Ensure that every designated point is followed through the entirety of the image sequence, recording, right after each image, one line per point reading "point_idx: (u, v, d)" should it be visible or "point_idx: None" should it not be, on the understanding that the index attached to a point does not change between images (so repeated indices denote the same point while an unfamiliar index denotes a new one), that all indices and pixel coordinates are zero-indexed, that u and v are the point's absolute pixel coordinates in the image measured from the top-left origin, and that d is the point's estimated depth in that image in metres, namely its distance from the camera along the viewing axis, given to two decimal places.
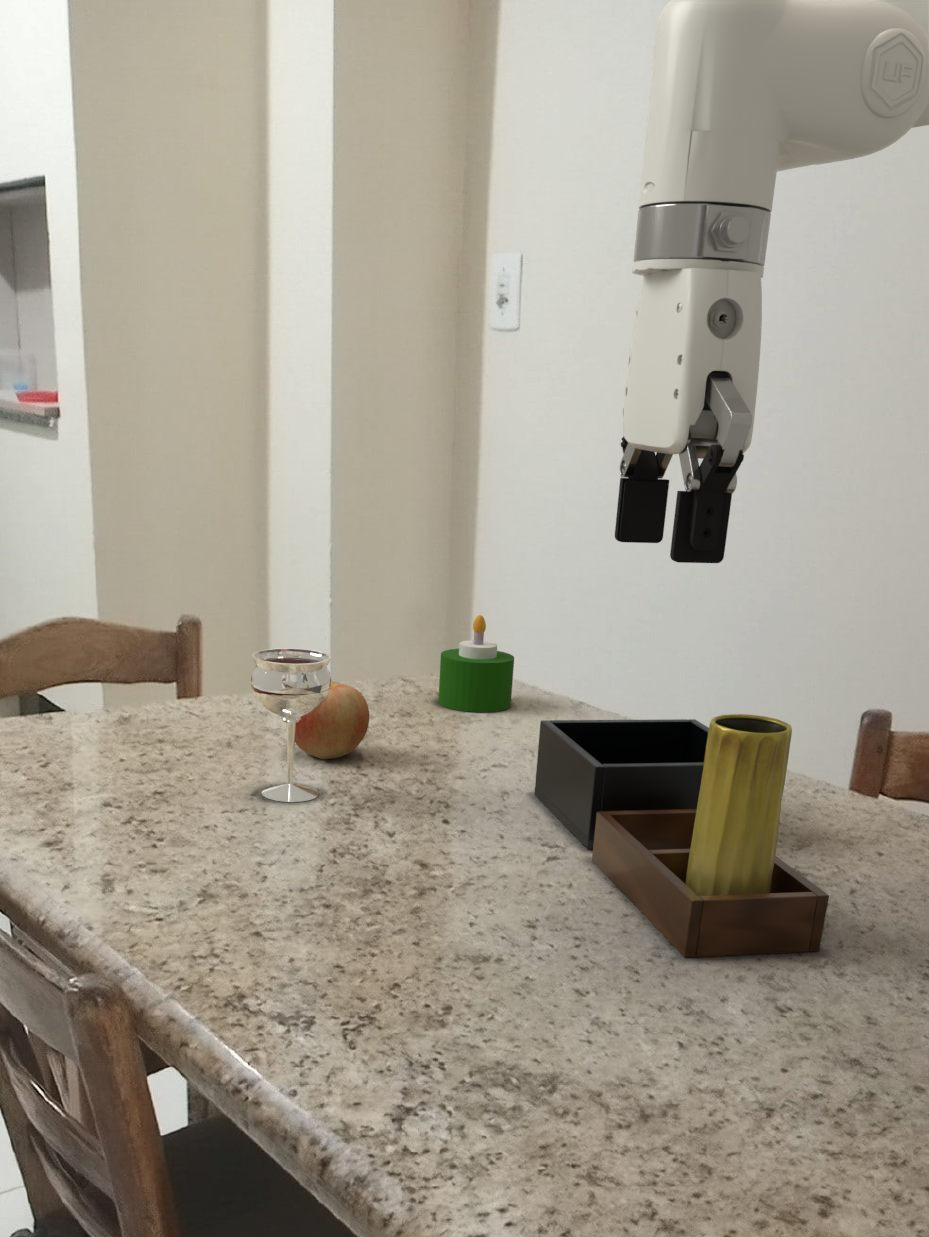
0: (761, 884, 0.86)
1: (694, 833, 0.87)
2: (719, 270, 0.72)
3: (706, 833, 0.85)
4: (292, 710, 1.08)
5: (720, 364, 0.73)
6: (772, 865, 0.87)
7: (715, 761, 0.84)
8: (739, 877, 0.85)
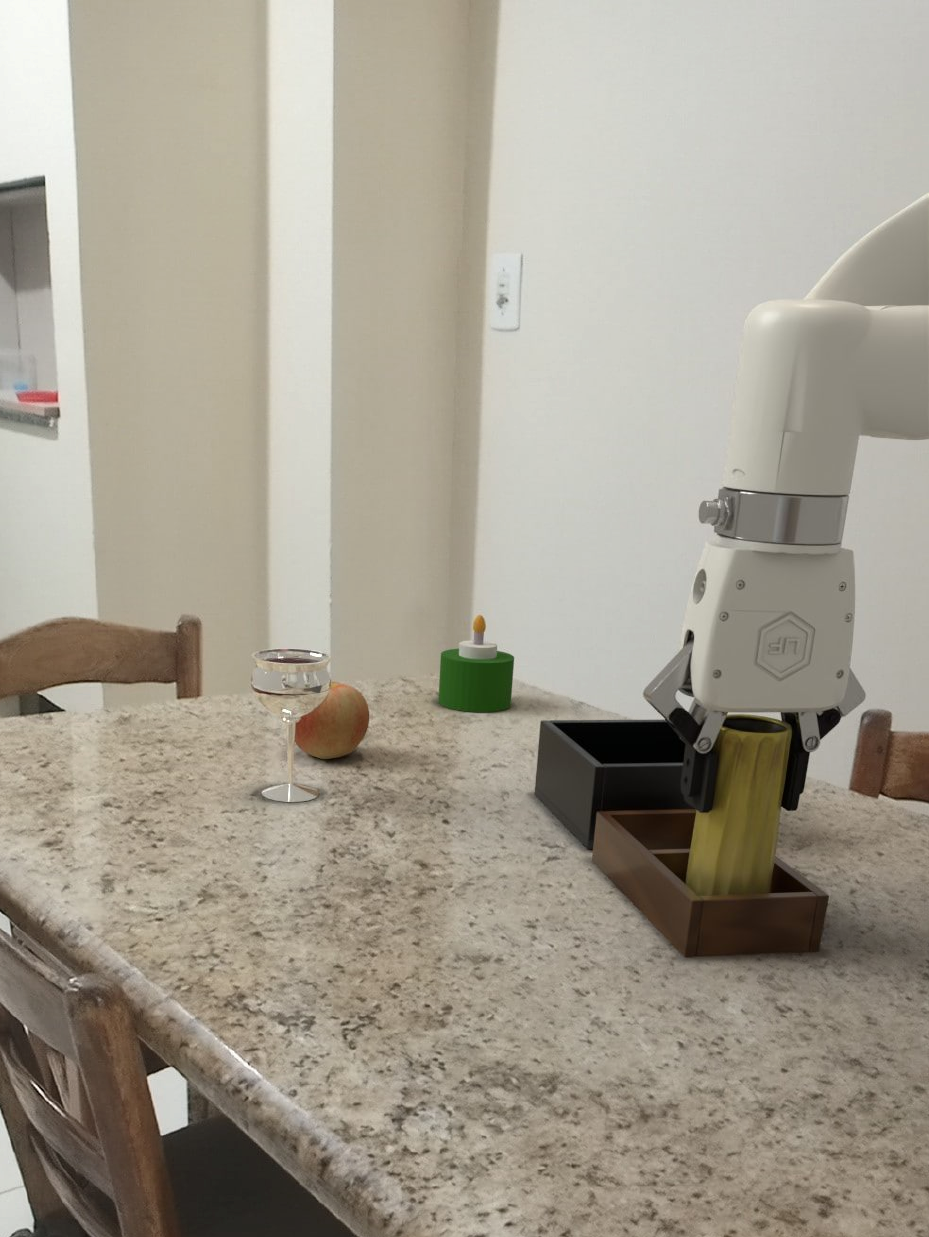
0: (761, 884, 0.86)
1: (694, 833, 0.87)
2: (708, 544, 0.79)
3: (706, 833, 0.85)
4: (293, 710, 1.08)
5: (691, 624, 0.81)
6: (772, 865, 0.87)
7: None
8: (739, 877, 0.85)
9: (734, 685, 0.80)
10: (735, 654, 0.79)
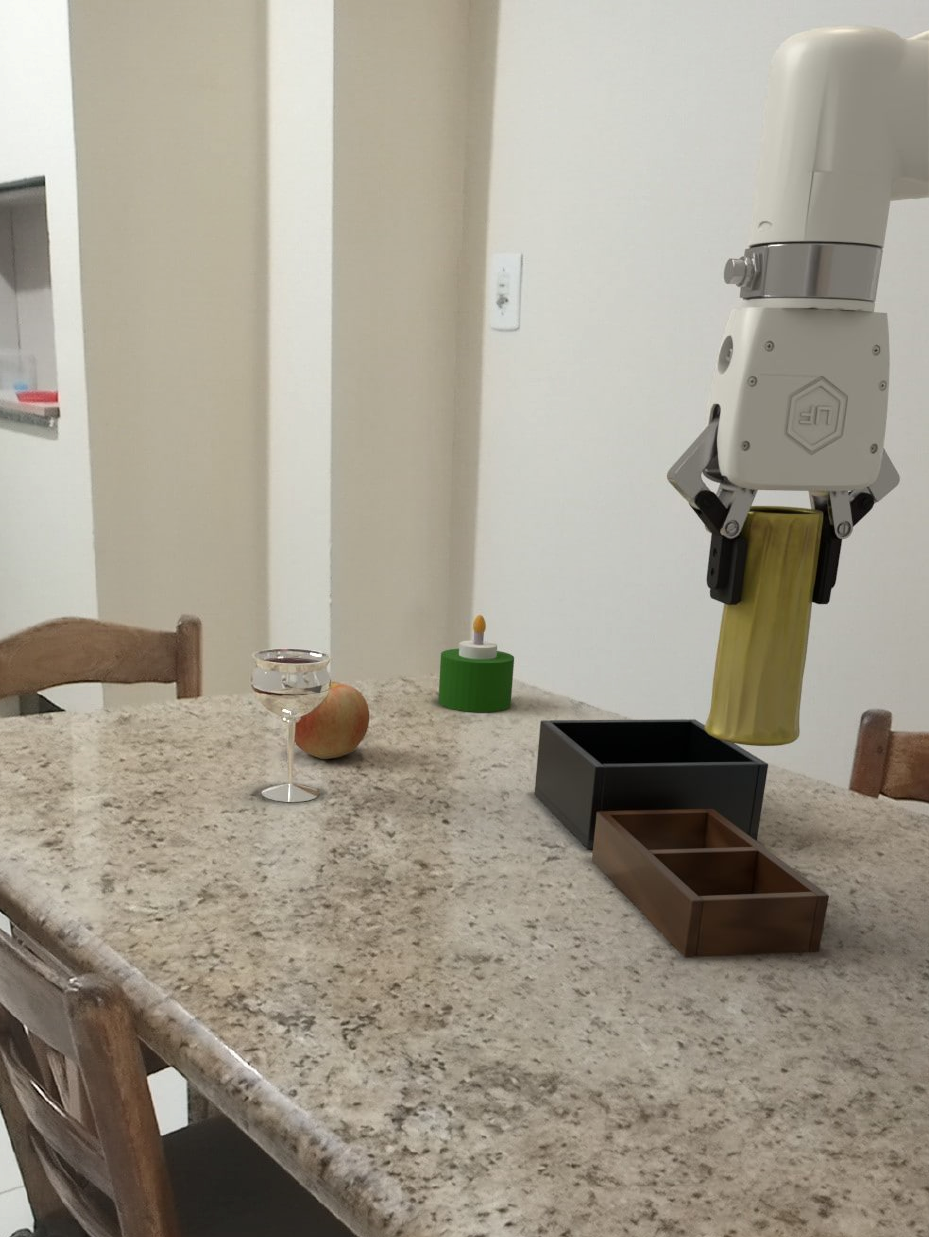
0: (792, 683, 0.82)
1: (721, 634, 0.84)
2: (734, 309, 0.75)
3: (734, 629, 0.82)
4: (293, 710, 1.08)
5: (717, 398, 0.77)
6: (803, 664, 0.83)
7: None
8: (770, 674, 0.81)
9: (763, 458, 0.76)
10: (764, 424, 0.75)
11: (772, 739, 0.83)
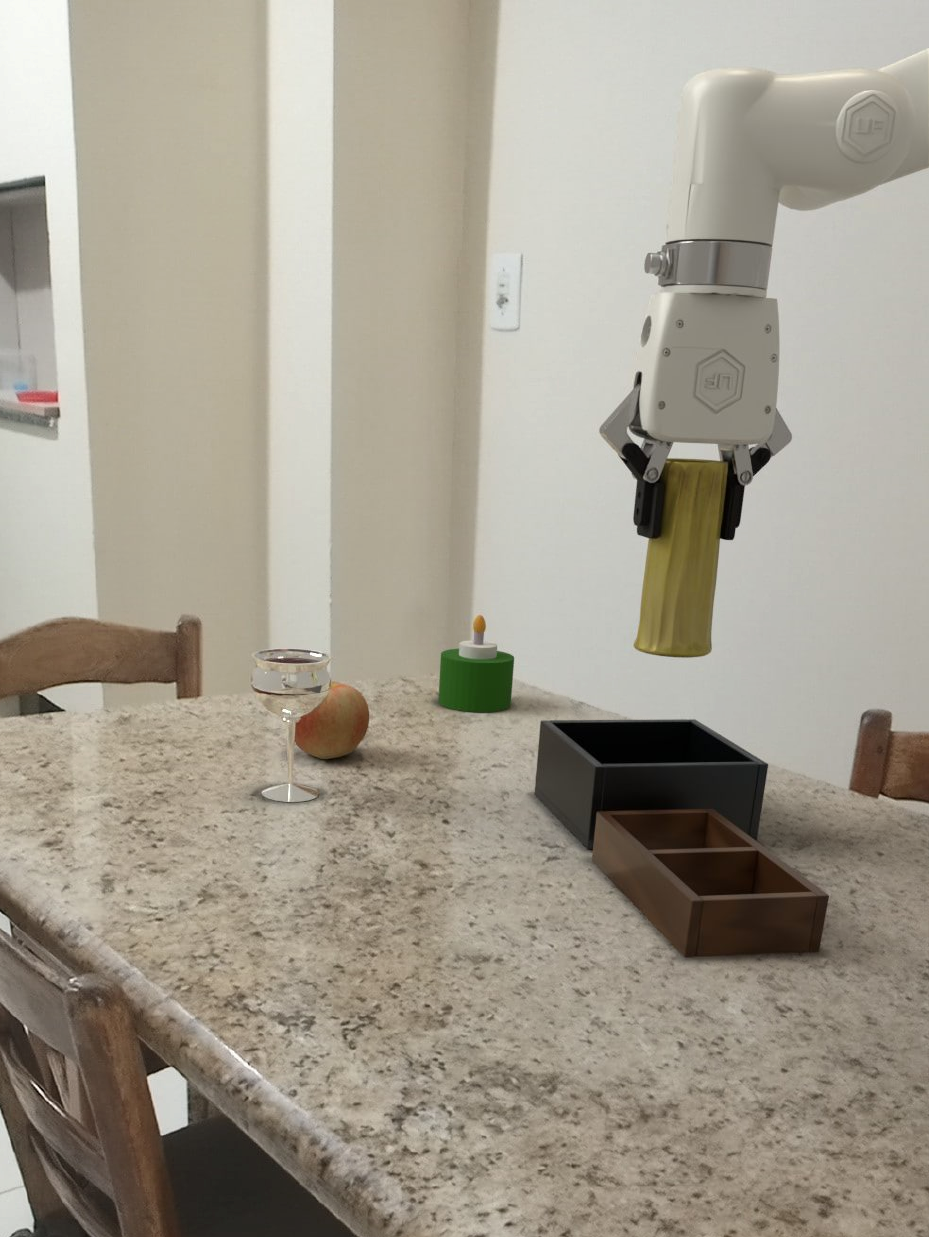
0: (704, 604, 0.99)
1: (646, 564, 1.01)
2: (653, 294, 0.93)
3: (656, 560, 0.99)
4: (292, 710, 1.08)
5: (639, 366, 0.94)
6: (713, 590, 1.00)
7: None
8: (684, 596, 0.98)
9: (676, 416, 0.93)
10: (676, 387, 0.92)
11: (687, 651, 1.00)
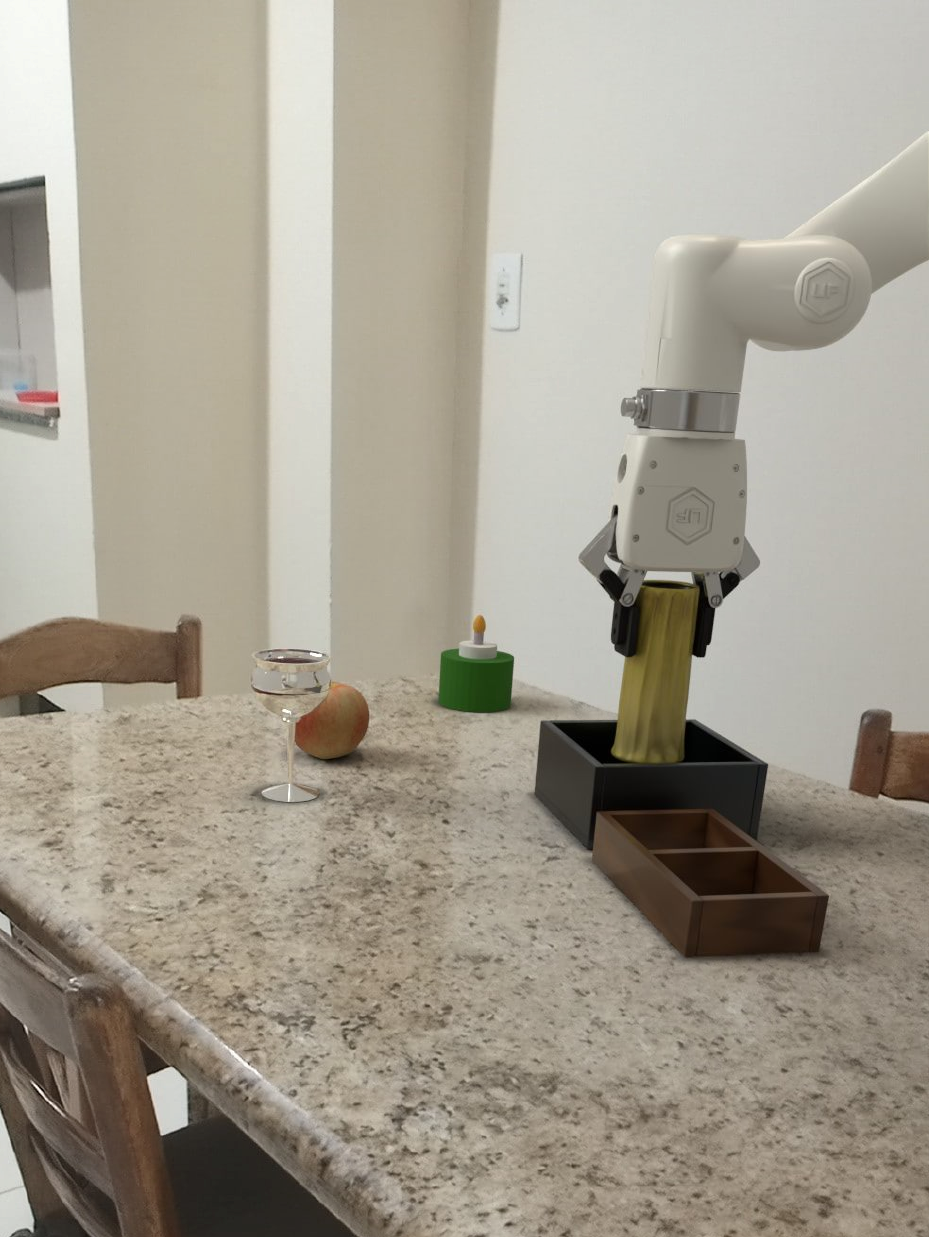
0: (676, 717, 1.06)
1: (623, 678, 1.07)
2: (628, 434, 0.99)
3: (631, 675, 1.05)
4: (293, 710, 1.08)
5: (616, 500, 1.00)
6: (686, 703, 1.06)
7: None
8: (658, 710, 1.05)
9: (650, 548, 0.99)
10: (650, 522, 0.99)
11: (660, 761, 1.06)
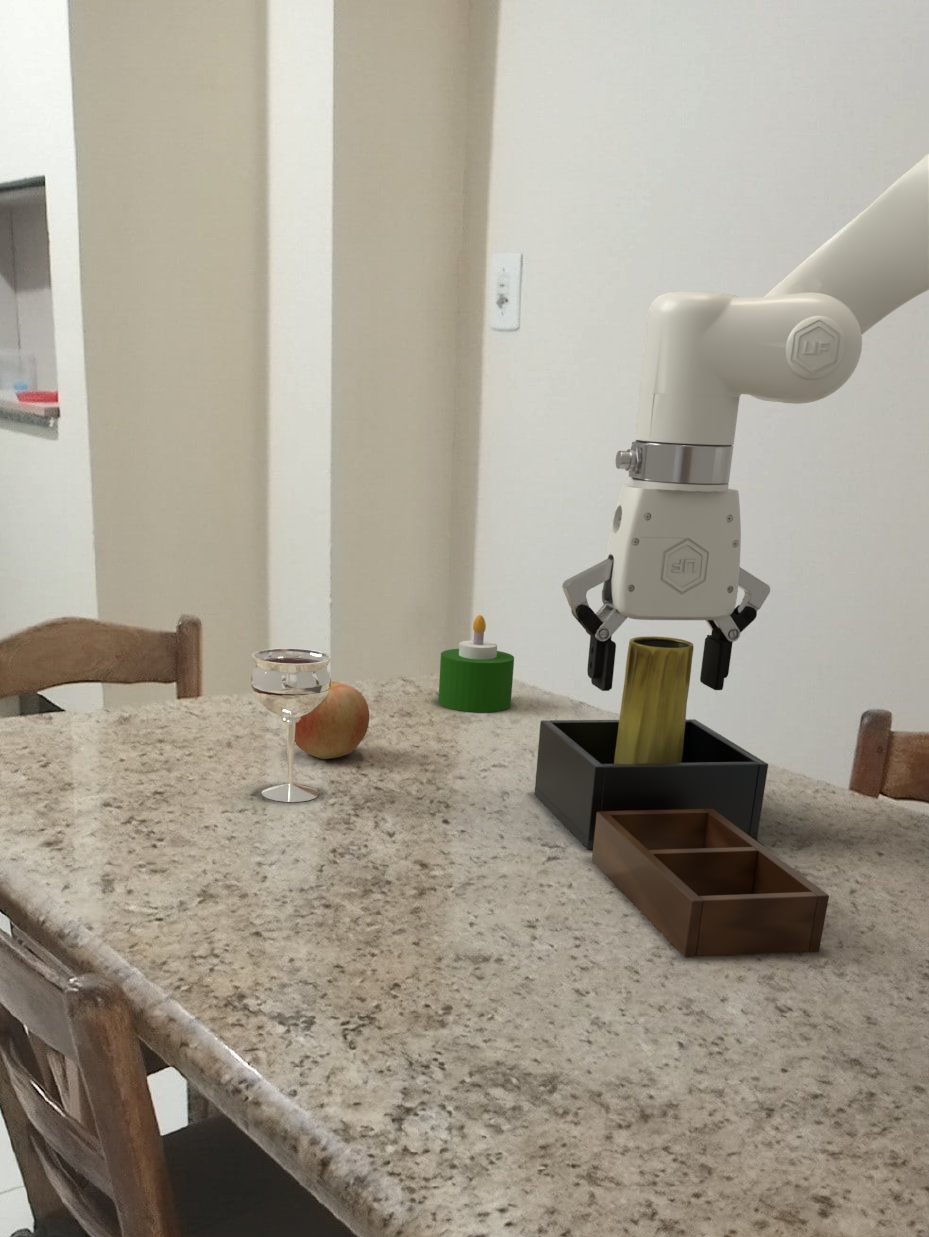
0: None
1: (618, 732, 1.09)
2: (623, 486, 1.01)
3: (626, 731, 1.07)
4: (292, 710, 1.08)
5: (611, 550, 1.02)
6: (680, 757, 1.08)
7: (633, 672, 1.05)
8: None
9: (645, 597, 1.01)
10: (645, 572, 1.00)
11: None
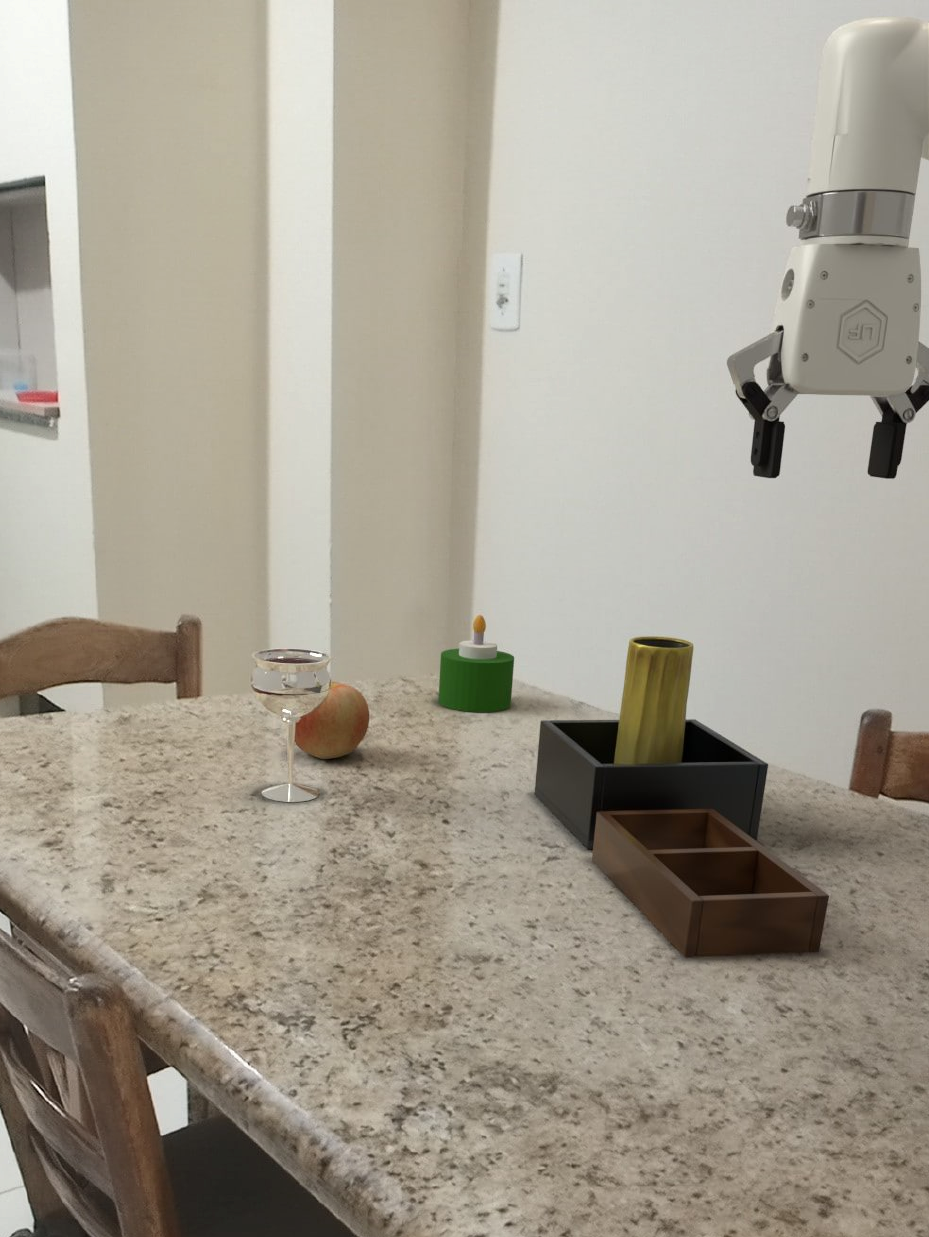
0: None
1: (618, 732, 1.09)
2: (794, 248, 0.93)
3: (626, 731, 1.07)
4: (293, 710, 1.08)
5: (780, 320, 0.95)
6: (680, 757, 1.08)
7: (633, 672, 1.05)
8: None
9: (819, 368, 0.94)
10: (820, 339, 0.93)
11: None
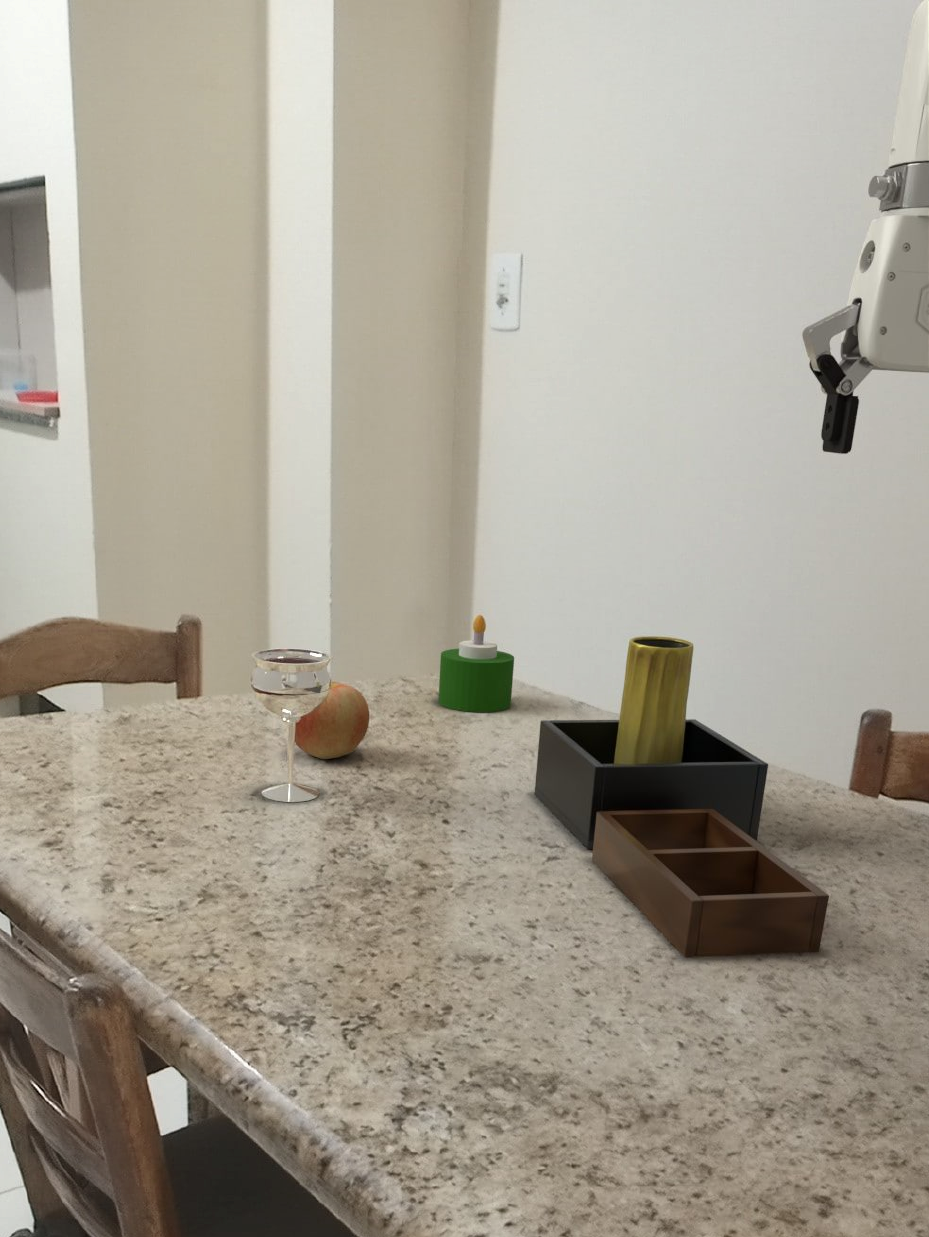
0: None
1: (618, 732, 1.09)
2: (875, 219, 0.92)
3: (626, 731, 1.07)
4: (293, 710, 1.08)
5: (858, 293, 0.93)
6: (680, 757, 1.08)
7: (633, 672, 1.05)
8: None
9: (897, 342, 0.92)
10: (899, 312, 0.92)
11: None
